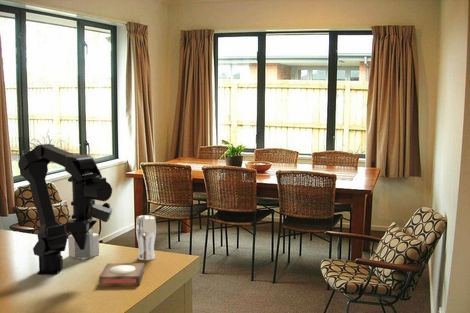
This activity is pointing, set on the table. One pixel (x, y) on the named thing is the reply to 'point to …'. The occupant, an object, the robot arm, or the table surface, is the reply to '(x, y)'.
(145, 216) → the beer glass
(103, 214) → the robot arm
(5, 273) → the table surface
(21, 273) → the table surface
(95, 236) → the container
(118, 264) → the walnut step
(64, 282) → the table surface
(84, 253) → the metal column
